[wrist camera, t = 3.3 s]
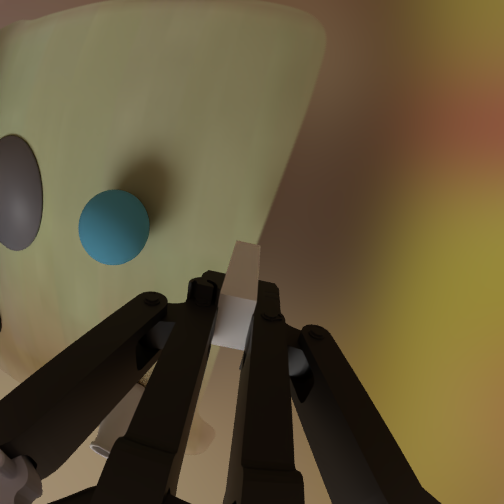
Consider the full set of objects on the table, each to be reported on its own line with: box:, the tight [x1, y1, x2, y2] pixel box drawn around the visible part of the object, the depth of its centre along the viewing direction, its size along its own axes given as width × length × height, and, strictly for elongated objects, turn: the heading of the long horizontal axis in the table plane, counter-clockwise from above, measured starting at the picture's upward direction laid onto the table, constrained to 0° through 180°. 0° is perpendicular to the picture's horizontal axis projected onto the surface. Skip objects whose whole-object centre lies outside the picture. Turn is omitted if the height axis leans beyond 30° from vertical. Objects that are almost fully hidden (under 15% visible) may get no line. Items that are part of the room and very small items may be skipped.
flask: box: [90, 383, 145, 458], centre depth 24 cm, size 7×7×10 cm
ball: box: [79, 190, 149, 265], centre depth 18 cm, size 6×6×6 cm
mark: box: [0, 136, 43, 251], centre depth 20 cm, size 13×13×1 cm
